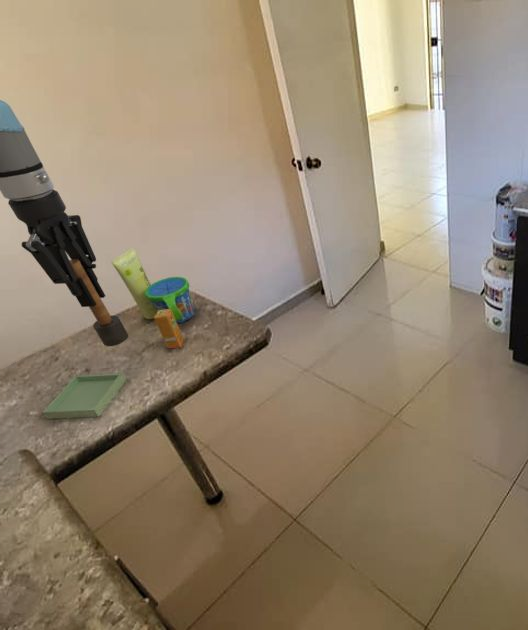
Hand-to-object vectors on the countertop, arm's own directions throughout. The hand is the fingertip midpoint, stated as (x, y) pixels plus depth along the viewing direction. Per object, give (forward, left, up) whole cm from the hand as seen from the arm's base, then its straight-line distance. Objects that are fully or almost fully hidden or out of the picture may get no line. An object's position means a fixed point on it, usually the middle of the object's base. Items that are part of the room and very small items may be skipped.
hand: (93, 301), depth 93 cm
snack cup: (+2, +21, -20) cm, 30 cm away
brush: (0, 0, -11) cm, 11 cm away
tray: (-6, -9, -20) cm, 23 cm away
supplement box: (+6, +9, -20) cm, 23 cm away
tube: (-7, +23, -20) cm, 31 cm away
